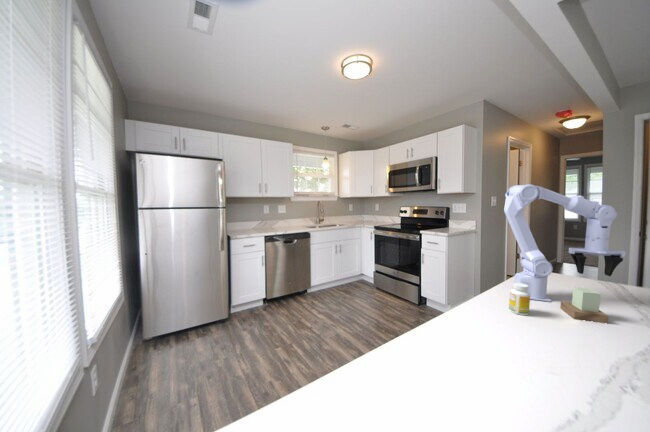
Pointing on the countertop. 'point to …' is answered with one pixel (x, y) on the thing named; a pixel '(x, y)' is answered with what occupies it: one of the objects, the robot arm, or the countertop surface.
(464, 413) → the countertop surface
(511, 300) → the supplement bottle
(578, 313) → the walnut block
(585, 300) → the sage block
